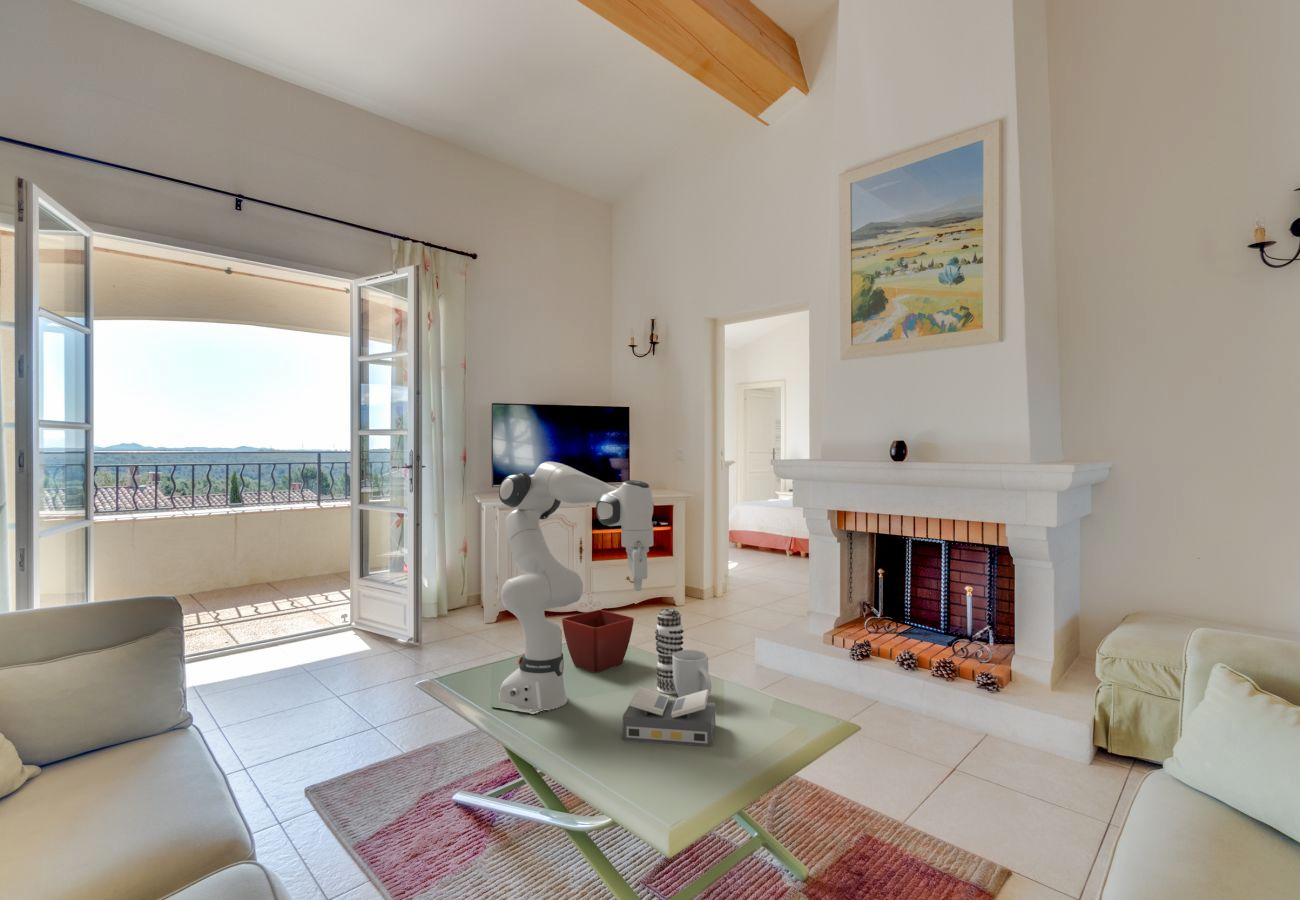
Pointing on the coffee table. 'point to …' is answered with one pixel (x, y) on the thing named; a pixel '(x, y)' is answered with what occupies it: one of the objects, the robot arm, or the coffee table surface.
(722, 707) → the coffee table surface
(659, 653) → the black and white cylinder
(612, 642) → the plant pot
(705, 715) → the switch console
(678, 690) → the mug
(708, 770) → the coffee table surface
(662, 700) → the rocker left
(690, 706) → the rocker right
